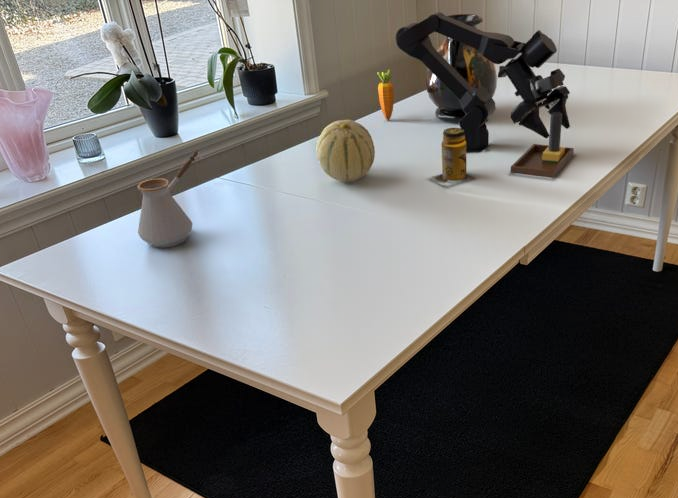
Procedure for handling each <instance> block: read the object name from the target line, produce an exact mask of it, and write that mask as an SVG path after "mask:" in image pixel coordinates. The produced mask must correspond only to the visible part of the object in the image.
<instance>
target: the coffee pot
mask: <svg viewBox="0 0 678 498" xmlns="http://www.w3.org/2000/svg"><path fill="white" fill-rule="evenodd" d="M198 154H199V155H200V157H199V155H198ZM201 156H202V157H201ZM195 158H197V159H200V160H201V159H203V158H204V155H203V154H202V153H201V152H199V151H198V150H195V151H194V152H193V153H192V155H189V156H188V160H187V161H186V162H184V163H183V165H182V166H181V168H180V169H179V171H178V172H177V174H176V175H175V177H174V179H173V180H172V181H171V182H170V181H169V180H168V179H167V178H151V179H147V180H144V181H141V182H140V183H139V184H137V187H136V188H137V190H138V191H140V192H141V194H142V202H141V208H140V215H139V222H138V227H137V229H138V230H137V234H138V236H139V238H140V239H141V240H142V241H144V243H146V244H148V245H151V246H152V247H154V248H161V249H162V248H171V247H176V246H177V245H180V244H182V243H184V242H185V241H186V240H187V238H188V237H189V236H190V234H191V232H192V230H193V222H192V220H191V219H190V217H189V216H188V215H187V214H186V212H185V211H184V210H183V208H182V207H181V206H180V204H179V203H178V202H177V201H176V199H175V198H174V197H173V195H172V194H171V193H170V192H171V191H172V189H173V188H174V187H175V185H176V184H177V183H178V182H179V180H180V179H181V178H182V177H183V175H184V174H185V173H186V172H188V169H189V168H190V167H191V164H193V163H192V162H194V161H195Z"/></svg>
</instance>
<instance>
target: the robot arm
mask: <svg viewBox="0 0 678 498" xmlns="http://www.w3.org/2000/svg"><path fill="white" fill-rule="evenodd" d="M448 16H449V15H446V14H444V13H443V12H440V11H436V12H434V13H432V14H430V15H429V16H428V17H427V18H425V19H423V20H422V21H420V22H410V23H409V24H407V25H405V26H403V27H401V28H399V29H397V31H396V34H395V44H396V47H398V49H400V50H401V52H403V53H405V54H407V55H408V56H409V57H411V58H414V59H416V60H418V61H419V62H421V63H422V64H423V65H424V66H425V67H426V68H427V70H428V69H429V70H430V71H431V72H432V73H433V74H434V75H435V76H436V77H437V78H438V79H439V80H440V81H441V82H442V83H443V84H444V85H445V86H446V87H447V88H448V89H449V90H450V91H451V92H452V93H453V94H454V95H455V96H456V97H457V98H458V99H459V101H460V104H461V106H462V109H463V111H464V112H465V114H466V115H465V116H464V117H463V118H462V119H461V120H460V121H459V123H458V124H459V128H461V129H463V130H464V131H465V141H466V153H471V152H473V153H474V152H483V151H485V150H488V147H489V145H490V144H489V140H490V138H489V135H490V134H489V133H490V132H489V129H488V126H487V124H486V123H488V121H489V119H490V118H491V116H493V114H494V113H495V111H496V101H495V100H494V98H493V97H494V96H493V95H491V94H489V93H488V92H487V91H486V89H485V88H484V87H483V86H481V87H479V88H478V89H476V88H474V87H472V86H471V85H470V84H469V83H468V82H467V81H466V80H465V79H464V78H463V77H462V76H461V75H460V74H459V73H458V72H457V71H456V70H455V69H454V68H453V67H452V66H451V65H450V64H449V63H448V62H447V61H446V60H445V59H444V58H443V57H442V56H441V55H440V54H439V53H438V52H437V49H436V48H435V47H434V45H433V43H432V40H431V38H430V35H432V34H433V33H437V34H440V35H442V36H444V37H446V36H447V37H449V38H451V39H454V40H456V41H458V42H461V43H463V44H465V45H468V46H470V47H472V48H474V49H476V50H477V51H479V52H480V54H481V55H482V56H483V57H485V58H486V59H488V60H489V61H491V62H492V63H494V65H499V66H498V73H497V79H498V78H499V79H500V78H506V77H507V78H508V79H509V81H510V82H511V84H512V85H513V87H514V89H515V90H516V91H515V92H514V95H515V96H516V97H519V96H520V98H521V99H522V101H520V102H519V103H518V105H516V106H515V108H513V110H512V111H510V120H511V122H512V123H513V124H514V125H516V124H518V126H522V127H524V128H526V129H529V130H530V131H532V132H534V133H535V134H537V135H539V136H542V137H543V138H545V139H549V134H550V132H548V130H547V128H546V126H545V124H544V122H543V120H542V118H541V117H540V109H541V108H543V107H544V108H545V109H547V110H548V111H547V113H548V114H549V115H551V113H553V112H560V113H562V123H561V127H564V128H565V129H566V130H568V129H570V128H571V124H570V120H569V116H568V111H567V107H566V106H567V105H566V104H567V101H568V99H569V95H570V94H571V92H570V90H569V89H568V87H567V86H565V85H564V81H565V78H566V74H565V73H563V71H562V70H561V69H560V68H556V69H554V70H552V71H550V75H549V76H546V77H544V78H543V76H542V75H540V74H538V75H536V74H535V72H534V71H533V69H534V68H536V69H539V68H541V67H542V66H543V65H544V64H545V63H546V62H547V61H548V60H549V59H551V57H553V56H554V55H555V54H556V53H557V52H558V49H557V46H556V44H555V42H554V41H553V40H552V38H551V37H548V35H547V34H545V33H543V32H542V31H541V30H540V29H539V30H536V32H534V34H533V35H532V36H531V38H529V39H528V40H527V41H526V42H522V41H518V40H515V39H514V38H513V37H512V36H511V35H508V34H505V33H500V32H499V33H498V32H491V31H490V32H489V31H485V30H484V31H483V30H481V29H478V28H474V27H472V26H469V25H467V24H464V23H462V22H460V21H457V20H455V19H453V18H450V17H448ZM517 56H518V57H517ZM508 60H509V61H508ZM506 61H508V62H507V63H506V64H505V65H501V64H503V63H505V62H506Z"/></svg>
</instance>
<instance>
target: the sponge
mask: <svg viewBox="0 0 678 498" xmlns="http://www.w3.org/2000/svg"><path fill="white" fill-rule="evenodd" d="M561 123H562V113H560V112H553V113H551V114H550V120H549V137H548V147H547V148H546V150H545V151H544V152H543V156H542V162H546V163H556V164H558V163H559V162H560V160H561V159H562V158H563V157H564V156H565V146H561V136H562V135H561V133H562V125H561Z"/></svg>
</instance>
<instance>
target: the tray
mask: <svg viewBox="0 0 678 498" xmlns="http://www.w3.org/2000/svg"><path fill="white" fill-rule="evenodd" d="M548 146H549V144H538V143H537V144H536V143H533V144H532V145H531V146H530V147H529V148H528V149H527V150H526V151H524V153H523V154H522V155H521V156H520V157H518V159H517V160H516V161H515V162H514V163H513V164H512V165H510V173H512V174H518V175H525V176H535V177H542V178H550V179H554V177H555V176H556V175H557V174H558V173H559V172H560V170H561V169H562V168H563V167H564V166H565V165H566V164H567V162H568V161H569V160H570V159H571V158H572V157H573V155H574V152H575V148H574V147H565V146H564V147H565V156H564V157H563V158H562V159H561V160H560V162H559V163H558V164H556V163H546V162H542V156H543V152H544V151H545V150H546V148H547V147H548Z"/></svg>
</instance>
